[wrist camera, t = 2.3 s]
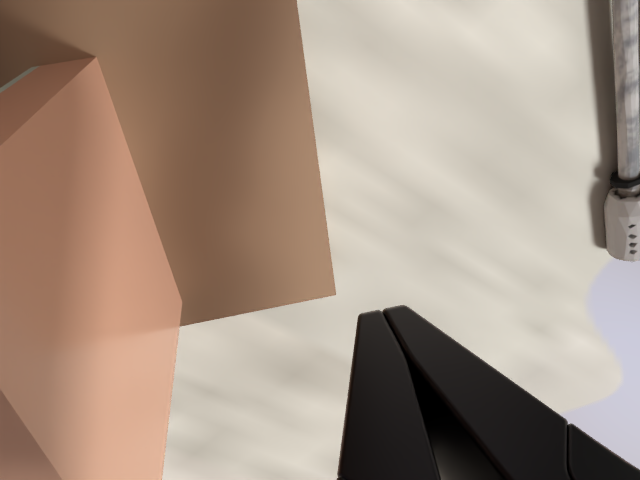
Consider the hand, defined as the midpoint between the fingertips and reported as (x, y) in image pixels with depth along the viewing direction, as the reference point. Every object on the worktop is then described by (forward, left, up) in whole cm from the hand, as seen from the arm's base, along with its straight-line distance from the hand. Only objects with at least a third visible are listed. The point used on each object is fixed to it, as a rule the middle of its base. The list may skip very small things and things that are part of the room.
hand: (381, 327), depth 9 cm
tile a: (-6, 0, -7) cm, 9 cm away
